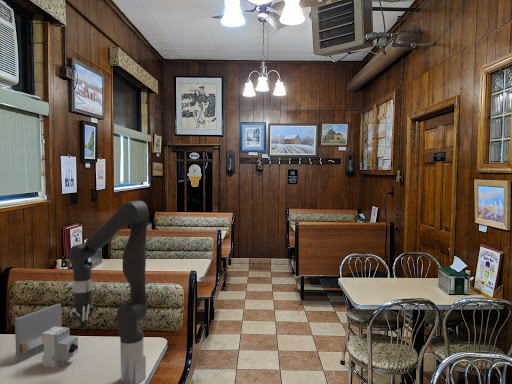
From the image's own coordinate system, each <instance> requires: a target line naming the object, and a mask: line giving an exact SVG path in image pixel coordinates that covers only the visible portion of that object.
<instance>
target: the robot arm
mask: <svg viewBox="0 0 512 384" xmlns="http://www.w3.org/2000/svg"><path fill="white" fill-rule="evenodd" d="M148 221H149V207H148V205H147V204H146V202H144V201H142V200H132V201H126V202H125V203H122V205H121V206H120V207H119V208H118V209H117V210H116V211H115V212H114V213H113V214H112V216H111V217H110V218H109V219H108V220H107V221H106V222H105V223H104V224H103V225H101V226H100V227H98V229H96V230H95V231H93V232H91V234H89V235H88V236H87V238H86V240H85V242H83V243H80V244H76V245H75V244H74V245H73V246H71V248H70V249H69V253H68V258H69V262H70V265H71V268H72V272H73V273H72V275H73V277H72V278H73V282H72V283H73V284H72V297H73V298H72V299H73V303H74V304H73V308H72V310H69V312H68V314H69V316H70V317H72V318H73V320H74V321H77V322H78V323H79V329H80V330H84V329H87V327H88V319H89V318H91V317H92V314H93V313H94V311H95V309H96V307H97V303H95V302H93V300H92V299H93V281H92V268H91V266H90V265H89V264H85V260H88V259H91V258H92V257H93V256H95V255H96V254H97V253H98V252H99V251H100V249H101V248H103V247H104V246H105V245H107V244H108V243H109V242H110V241H112V239H114V236H115V235H116V234H117V233H118V232H119V231H120V230H122V229H123V228H125V227H127V226H129V225H130V233H129V237H128V240H127V242H126V243H125V244H126V245H125V247H124V250H123V254H122V273H123V275H124V277H125V279H126V281H127V282H128V284H129V289H130V290H129V291H130V298H129V301H127V302H125V303H123V304H121V305H120V306H119V307H118V309H117V312H116V313H117V315H116V317H117V318H116V319H117V321H116V322H117V332H118V336H119V337H120V339H119V341H120V343H119V344H120V350H119V351H120V382H121V383H122V384H139V383H141V382H142V381H143V380H144V379H146V377H147V375H146V374H147V372H146V370H147V369H146V366H147V365H146V361H147V360H146V358H147V357H146V355H144V353H145V352H144V343H145V342H144V331H143V330H142V329H141V328H138V327H137V322H139V321H141V320H143V319H144V318H145V316H146V315H147V313H148V303H147V302H148V301H147V291H146V266H147V258H146V257H147V255H146V254H147V253H146V251H147V229H148Z"/></svg>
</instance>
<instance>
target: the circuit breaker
mask: <svg viewBox="0 0 512 384" xmlns="http://www.w3.org/2000/svg"><path fill="white" fill-rule="evenodd" d="M42 334H43V336H42V342H43V343H44V351H43V355H42V356H41V357H42V358H41V359H42V367H44V366H45V367H48V368H49V367H50V368H56V369H59V368H60V367H61V366H62V365H64V364H65V363H67V362H68V361H70V360H71V358H72V357H74V356H75V355H77V354H78V353H79V336H74V335H70V327H65V326H62V327H55V326H54V327H53V328H51V329H49V330H47V331H45V332H44V333H42ZM43 340H44V341H43Z"/></svg>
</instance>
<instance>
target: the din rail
mask: <svg viewBox="0 0 512 384" xmlns="http://www.w3.org/2000/svg"><path fill="white" fill-rule="evenodd" d="M42 336H43V335H42ZM42 336H40V337H37V338H35V339H32V340H30V341H28V342H25V343H22V344H21V353H25V352H27V351H28V350H30V349H32V348H34V347H37V346H39V345H41V344H43V342H42ZM43 341H44V340H43Z"/></svg>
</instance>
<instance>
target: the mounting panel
mask: <svg viewBox="0 0 512 384" xmlns="http://www.w3.org/2000/svg"><path fill="white" fill-rule="evenodd" d="M62 318H63V317H62V304H61V303H55V304H53V305H50V306H48V307H45V308H42V309H38V310H36V311H33V312H30V313H28V314H24V315H22V316H20V317H17V318H14V326H15V327H14V332H15V334H14V335H15V337H14V338H15V362H16V363H21V362H23V361H25V360H27V359H29V358H32V357H34V356H36V355H38V354H41V353H42V352H43V353H44V343H43V344H41V345H39V346H37V347H34V348H32V349H30V350H28V351H27V352H25V353H21V344H22V343H25V342H28V341H30V340H32V339H35V338H37V337H40V336H42V335H43V334H42V333H44V332H45V331H47V330H49V329H51V328H53V327H54V326H55V327H63V326H62V325H63V324H62V323H63V322H62V320H63V319H62Z"/></svg>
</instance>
